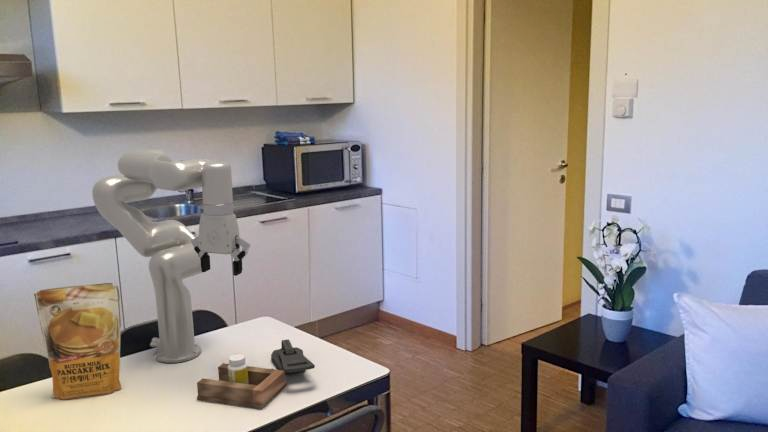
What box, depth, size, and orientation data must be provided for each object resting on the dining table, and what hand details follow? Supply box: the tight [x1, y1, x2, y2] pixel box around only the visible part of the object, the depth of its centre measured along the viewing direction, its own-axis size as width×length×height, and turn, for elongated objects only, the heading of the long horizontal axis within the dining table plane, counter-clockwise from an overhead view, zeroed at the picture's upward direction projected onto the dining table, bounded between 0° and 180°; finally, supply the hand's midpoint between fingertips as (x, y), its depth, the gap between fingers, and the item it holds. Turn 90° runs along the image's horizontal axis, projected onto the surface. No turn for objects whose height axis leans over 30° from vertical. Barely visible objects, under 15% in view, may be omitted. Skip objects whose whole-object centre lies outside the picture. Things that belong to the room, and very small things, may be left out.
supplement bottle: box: [228, 353, 249, 384], centre depth 164 cm, size 5×5×8 cm
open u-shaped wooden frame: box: [196, 362, 288, 411], centre depth 164 cm, size 18×13×4 cm
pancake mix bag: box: [33, 282, 123, 401], centre depth 165 cm, size 7×19×28 cm, turn 105°
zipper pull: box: [270, 339, 316, 377], centre depth 176 cm, size 9×7×25 cm
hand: (221, 272), depth 173 cm, fingers open, 9 cm apart
